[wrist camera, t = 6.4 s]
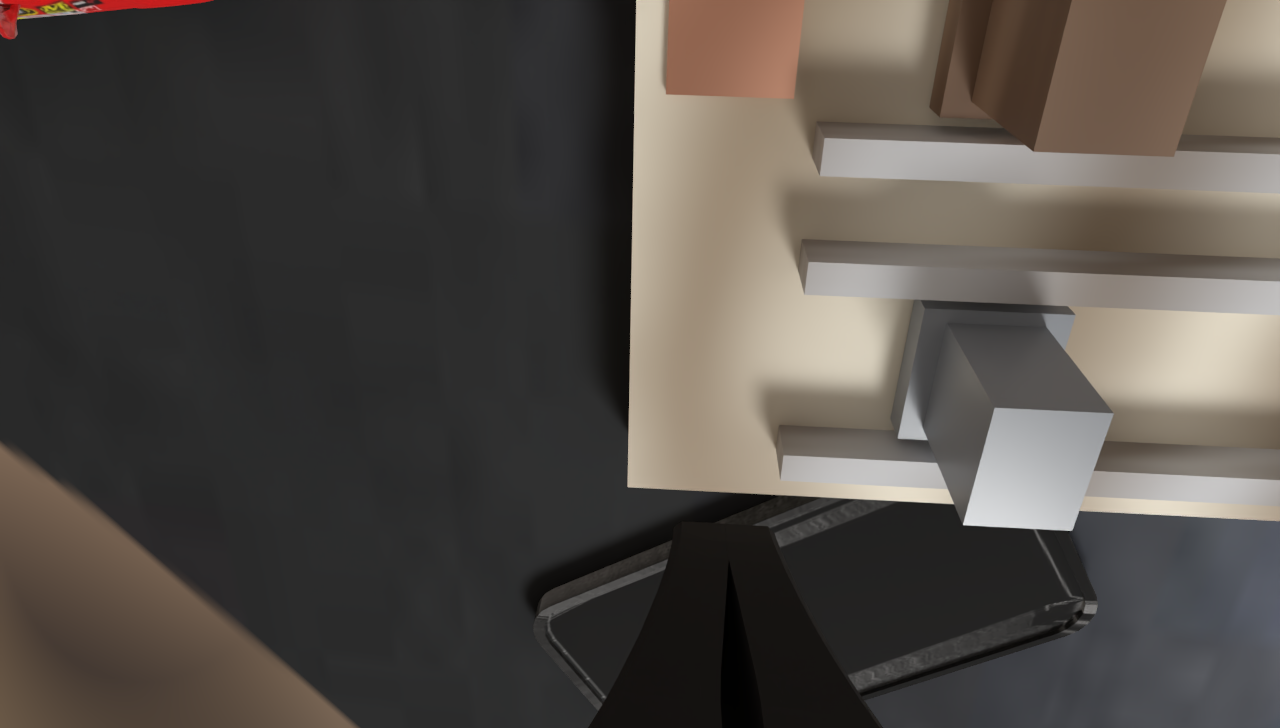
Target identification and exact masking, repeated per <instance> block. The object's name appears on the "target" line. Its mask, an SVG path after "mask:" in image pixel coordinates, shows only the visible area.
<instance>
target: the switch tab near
mask: <svg viewBox="0 0 1280 728" xmlns="http://www.w3.org/2000/svg"><path fill="white" fill-rule="evenodd" d="M1226 1H1227V0H949V4H948V9H947V15H946V20H945V25H944V31H943V36H942V41H941V47H940V52H939V57H938V63H937V68H936V73H935V79H934V84H933V89H932V95H931V100H930V105H929V108H930V109H931V110H932V111H934V112H935V113H936V114H937V115H938V116H939V117H940V118H965V119H994V120H995V121H996V122H997V123H998V124H1000V125H1001V126H1002V127H1003V128H1005V129H1006V130H1007V131H1008V132H1010V133H1011V134H1012V135H1013V136H1014V137H1016V138H1017V139H1018V140H1019V141H1021V142H1022V143H1023V144H1024V145H1026V146H1027V147H1028V148H1029V149H1030V150H1032V151H1033V152H1051V153H1078V154H1106V155H1133V156H1161V157H1174V155H1175V152H1176V149H1177V146H1178V143H1179V140H1180V137H1181V134H1182V132H1183V129H1184V126H1185V123H1186V120H1187V117H1188V114H1189V111H1190V108H1191V105H1192V102H1193V99H1194V96H1195V93H1196V90H1197V87H1198V84H1199V81H1200V78H1201V75H1202V72H1203V69H1204V66H1205V63H1206V61H1207V58H1208V55H1209V52H1210V49H1211V46H1212V43H1213V40H1214V37H1215V34H1216V31H1217V28H1218V25H1219V22H1220V19H1221V16H1222V13H1223V10H1224V7H1225V4H1226Z"/></svg>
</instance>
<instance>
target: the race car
mask: <svg viewBox="0 0 1280 728" xmlns="http://www.w3.org/2000/svg"><path fill="white" fill-rule="evenodd" d="M208 1H212V0H0V33H1V35H2V36H3V37H5V38H8V39H14V38H15V37H16V36H17V25H16V22H17V19H25V18H36V17H48V16H59V15H70V14H81V13H91V12H101V11H110V10H120V9H129V8H157V7H168V6H178V5H187V4H195V3H202V2H208Z"/></svg>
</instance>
